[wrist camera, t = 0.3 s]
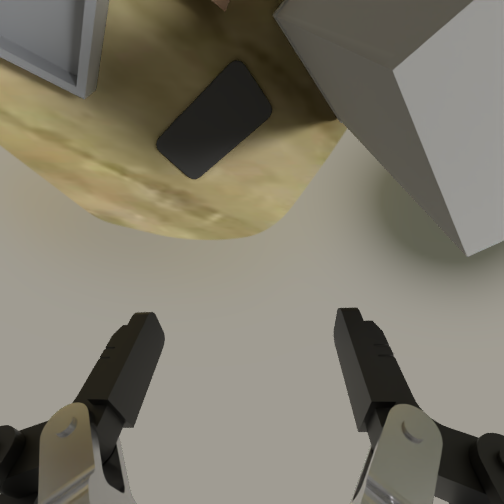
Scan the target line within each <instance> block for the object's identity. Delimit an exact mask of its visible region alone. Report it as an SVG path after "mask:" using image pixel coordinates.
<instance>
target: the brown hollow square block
mask: <svg viewBox="0 0 504 504" xmlns="http://www.w3.org/2000/svg"><path fill="white" fill-rule="evenodd" d="M211 1H213V2H214V3H215V4H216V5H218V6H219V7H220V8H221V9H222V10H224V11H225V12H226V9H227V7H228V4H229V1H230V0H211Z"/></svg>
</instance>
